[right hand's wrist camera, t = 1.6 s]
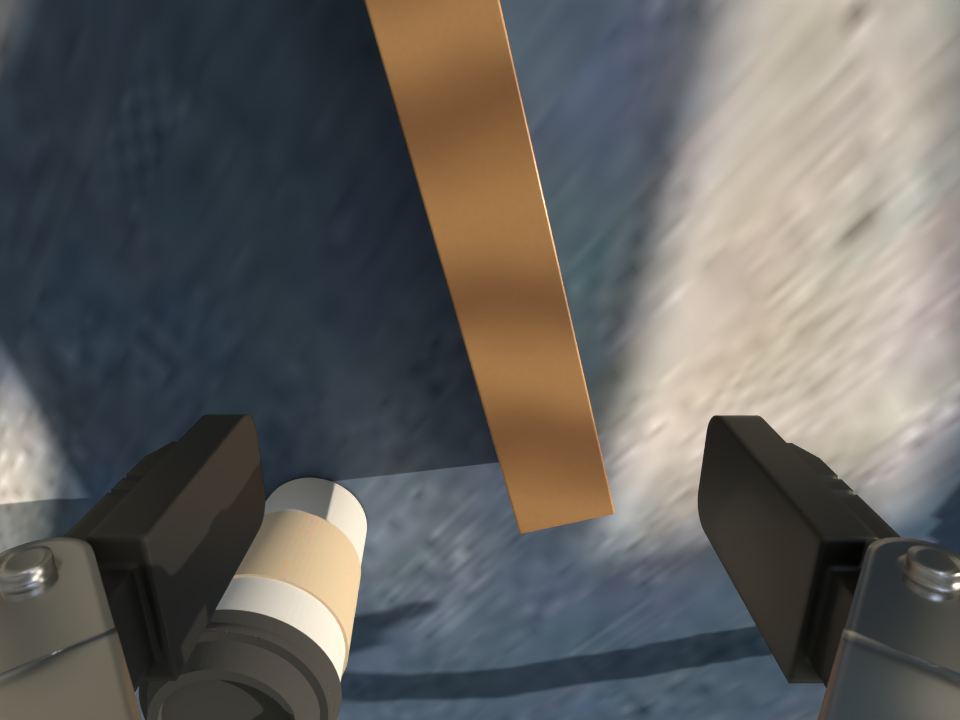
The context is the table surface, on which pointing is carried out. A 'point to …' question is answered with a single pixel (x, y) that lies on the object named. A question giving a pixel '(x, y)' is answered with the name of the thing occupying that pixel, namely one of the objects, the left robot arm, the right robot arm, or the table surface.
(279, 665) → the coffee cup
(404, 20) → the beam
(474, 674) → the table surface
